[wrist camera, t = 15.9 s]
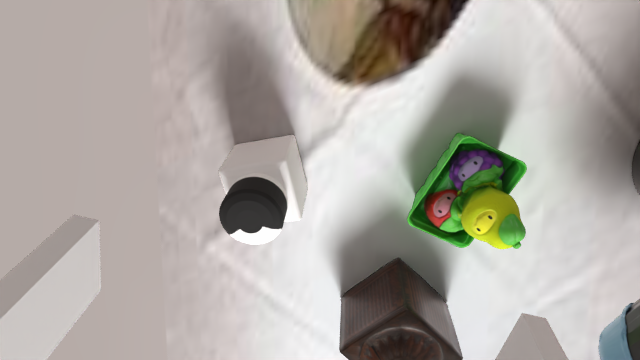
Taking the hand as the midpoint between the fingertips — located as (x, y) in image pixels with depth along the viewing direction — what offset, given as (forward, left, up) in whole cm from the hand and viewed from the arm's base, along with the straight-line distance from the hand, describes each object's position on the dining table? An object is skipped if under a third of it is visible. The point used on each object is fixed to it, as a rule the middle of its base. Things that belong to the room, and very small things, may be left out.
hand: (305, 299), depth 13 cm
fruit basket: (-16, +9, -35) cm, 40 cm away
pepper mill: (-16, +30, -35) cm, 49 cm away
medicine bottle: (+5, +13, -35) cm, 38 cm away
